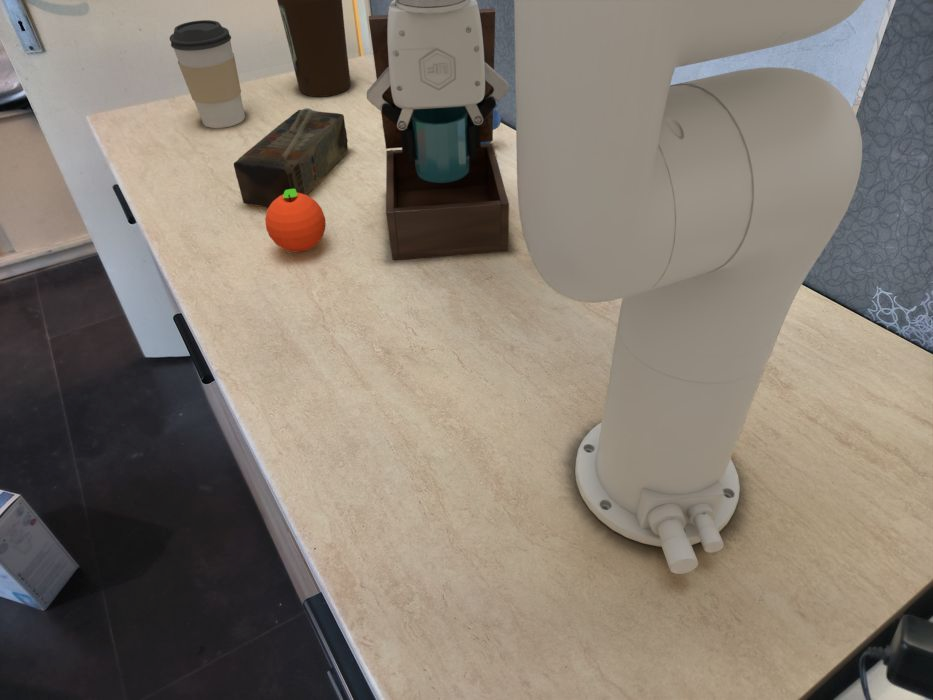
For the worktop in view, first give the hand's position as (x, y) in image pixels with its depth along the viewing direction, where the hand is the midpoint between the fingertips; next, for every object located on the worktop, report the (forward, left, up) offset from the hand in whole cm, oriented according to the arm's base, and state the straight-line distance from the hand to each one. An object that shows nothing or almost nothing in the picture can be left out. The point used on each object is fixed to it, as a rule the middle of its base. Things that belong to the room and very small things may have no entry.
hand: (441, 154), depth 77 cm
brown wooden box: (0, 0, -9) cm, 9 cm away
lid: (+6, 0, +6) cm, 8 cm away
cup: (0, 0, -2) cm, 2 cm away
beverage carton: (+15, +20, -9) cm, 27 cm away
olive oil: (+50, +19, -9) cm, 54 cm away
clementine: (-3, +18, -9) cm, 20 cm away
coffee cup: (+38, +35, -9) cm, 52 cm away
